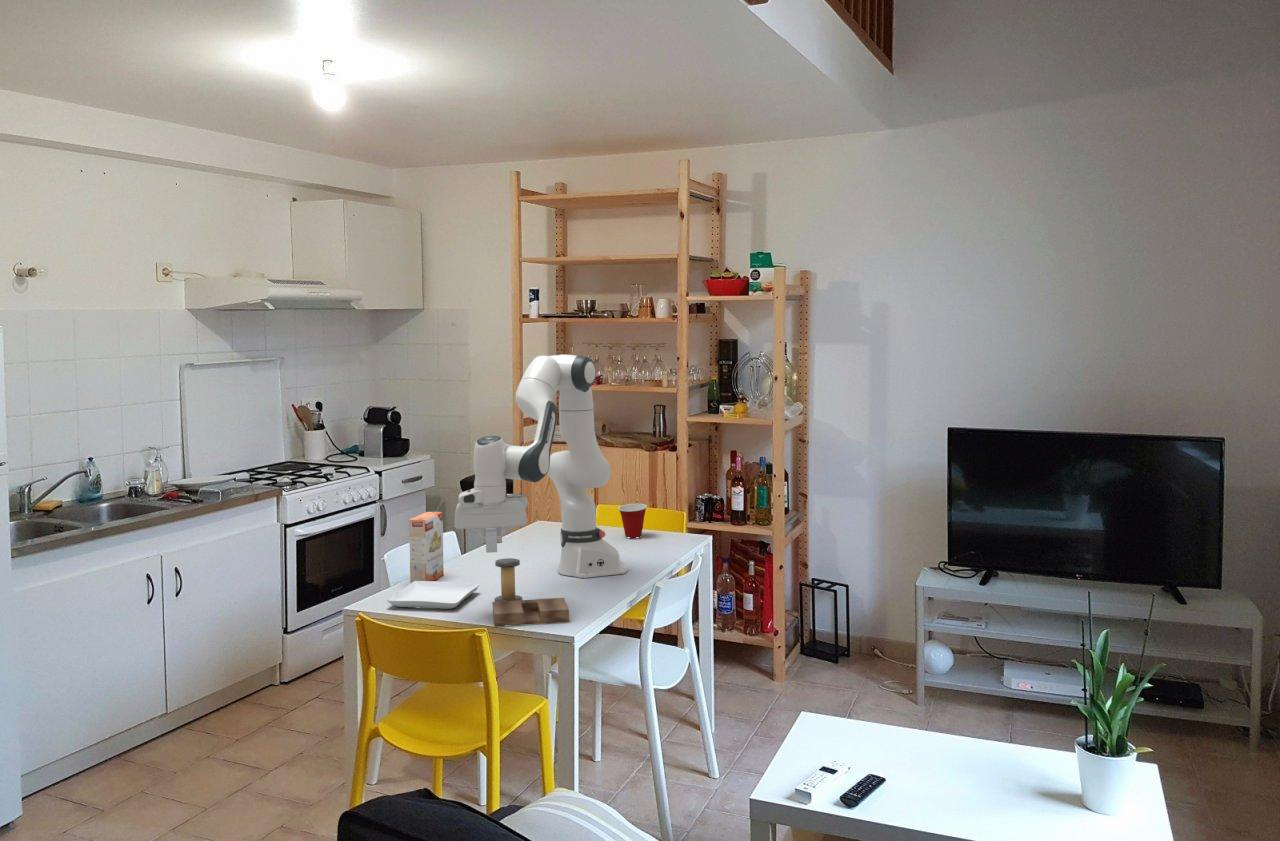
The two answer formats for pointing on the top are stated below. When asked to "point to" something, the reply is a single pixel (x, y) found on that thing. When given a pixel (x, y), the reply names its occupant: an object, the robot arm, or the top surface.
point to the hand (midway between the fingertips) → (491, 543)
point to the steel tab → (491, 540)
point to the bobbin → (507, 579)
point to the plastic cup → (633, 519)
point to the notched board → (530, 611)
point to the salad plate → (433, 594)
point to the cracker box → (426, 546)
